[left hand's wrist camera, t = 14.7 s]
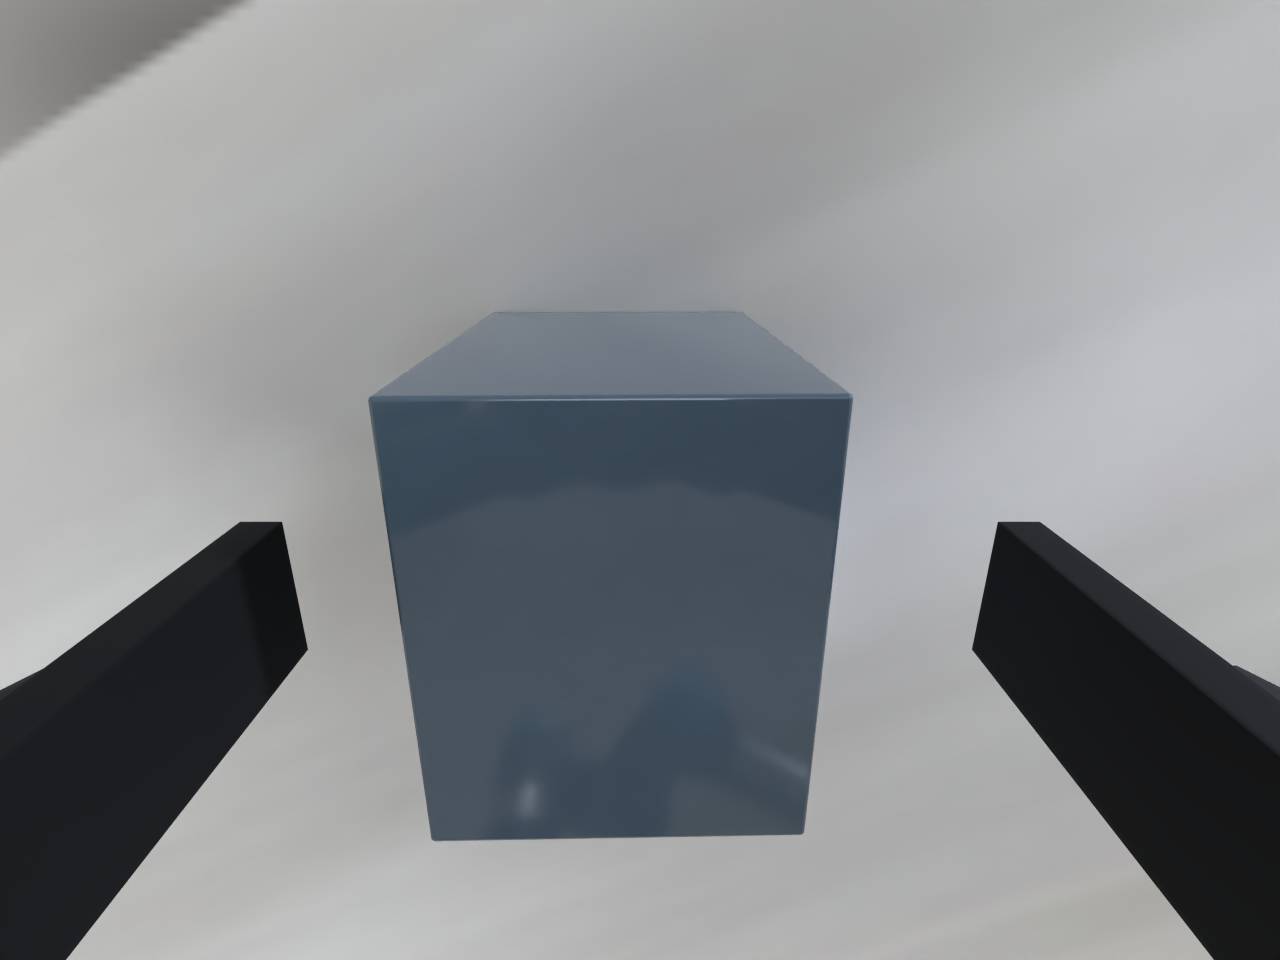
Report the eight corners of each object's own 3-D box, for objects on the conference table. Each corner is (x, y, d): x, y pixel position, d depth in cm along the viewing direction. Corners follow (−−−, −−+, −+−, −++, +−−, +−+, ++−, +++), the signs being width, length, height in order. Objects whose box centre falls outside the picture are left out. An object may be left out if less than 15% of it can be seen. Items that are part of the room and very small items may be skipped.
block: (512, 582, 22) (430, 843, 13) (492, 312, 19) (365, 396, 10) (729, 580, 22) (805, 836, 13) (743, 311, 19) (856, 394, 10)
